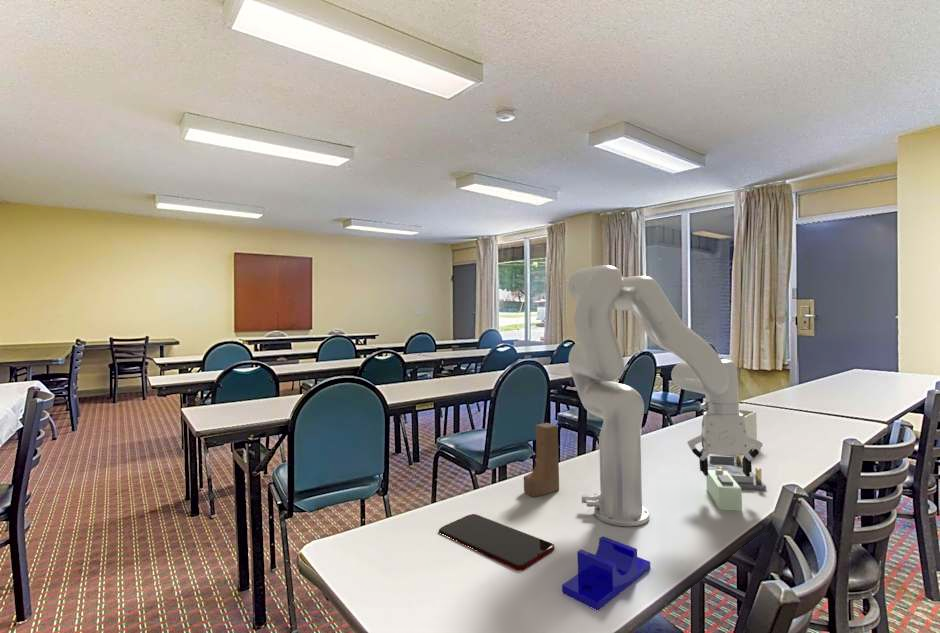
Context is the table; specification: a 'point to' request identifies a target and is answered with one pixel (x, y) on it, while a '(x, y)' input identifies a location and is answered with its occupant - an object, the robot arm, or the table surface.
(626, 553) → the mounting bracket
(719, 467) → the chassis
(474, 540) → the smartphone
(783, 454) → the table surface
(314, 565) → the table surface
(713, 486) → the pale green block
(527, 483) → the wooden block
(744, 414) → the staircase
